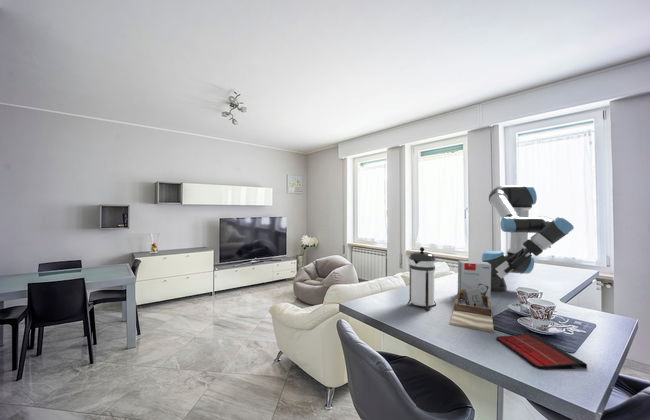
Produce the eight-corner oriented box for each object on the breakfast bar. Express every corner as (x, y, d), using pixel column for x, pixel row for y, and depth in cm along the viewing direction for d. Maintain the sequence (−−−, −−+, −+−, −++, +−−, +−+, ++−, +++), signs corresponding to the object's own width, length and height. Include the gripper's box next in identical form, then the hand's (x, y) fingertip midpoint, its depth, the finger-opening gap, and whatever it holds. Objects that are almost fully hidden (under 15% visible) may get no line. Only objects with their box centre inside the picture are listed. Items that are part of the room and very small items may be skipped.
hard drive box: (459, 298, 153) (459, 262, 153) (457, 294, 160) (457, 260, 160) (491, 300, 148) (491, 264, 148) (487, 296, 156) (487, 261, 156)
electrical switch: (471, 310, 134) (470, 291, 135) (462, 307, 139) (461, 289, 140) (484, 307, 138) (482, 288, 139) (474, 305, 143) (473, 287, 144)
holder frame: (457, 298, 152) (457, 292, 152) (489, 303, 144) (489, 296, 144) (454, 310, 133) (454, 303, 133) (491, 317, 126) (491, 309, 126)
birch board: (453, 312, 131) (453, 310, 131) (492, 318, 123) (492, 316, 123) (450, 324, 118) (450, 321, 118) (493, 332, 110) (493, 330, 110)
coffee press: (444, 311, 133) (444, 249, 133) (411, 310, 133) (411, 249, 133) (431, 299, 150) (431, 245, 150) (402, 299, 150) (402, 244, 150)
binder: (533, 332, 106) (587, 363, 85) (533, 338, 106) (587, 370, 85) (493, 334, 105) (537, 366, 84) (493, 340, 105) (538, 373, 84)
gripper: (549, 254, 114) (506, 285, 121) (538, 248, 135) (502, 274, 143) (533, 240, 116) (492, 271, 124) (525, 236, 138) (490, 263, 145)
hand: (498, 273), depth 133 cm, fingers open, 13 cm apart
